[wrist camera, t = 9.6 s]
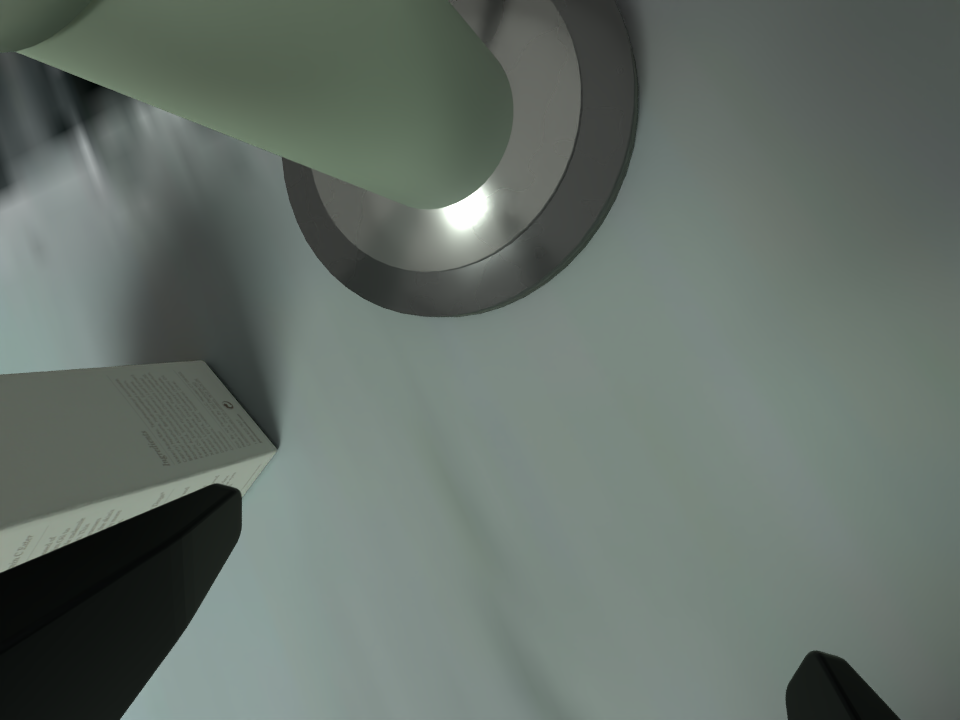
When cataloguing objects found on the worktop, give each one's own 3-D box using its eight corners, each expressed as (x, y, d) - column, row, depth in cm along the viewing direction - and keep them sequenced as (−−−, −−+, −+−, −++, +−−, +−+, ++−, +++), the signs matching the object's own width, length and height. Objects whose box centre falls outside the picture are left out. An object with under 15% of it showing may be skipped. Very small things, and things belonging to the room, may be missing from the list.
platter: (527, 382, 20) (514, 385, 18) (257, 232, 24) (232, 227, 23) (718, -13, 17) (717, -40, 16) (374, -104, 21) (352, -130, 20)
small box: (208, 357, 25) (-113, 372, 16) (284, 450, 24) (-17, 531, 14) (126, 478, 28) (-195, 558, 18) (191, 570, 26) (-119, 709, 17)
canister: (470, 242, 19) (23, 85, 7) (334, 176, 21) (-200, -36, 9) (550, 60, 18) (171, -526, 6) (397, 8, 19) (-128, -511, 7)
